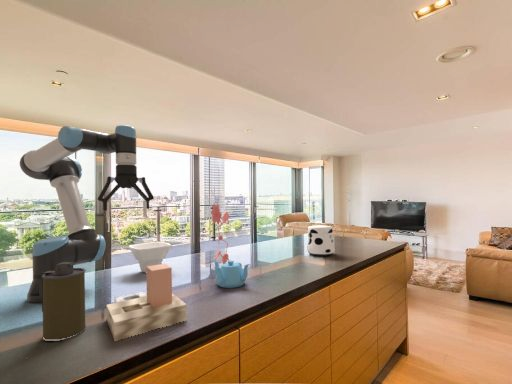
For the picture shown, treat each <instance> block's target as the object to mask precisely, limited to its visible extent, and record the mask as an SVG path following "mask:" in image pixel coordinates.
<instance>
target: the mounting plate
mask: <svg viewBox="0 0 512 384" xmlns="http://www.w3.org/2000/svg"><path fill="white" fill-rule="evenodd" d="M187 311H188V310H187V303H185V302H184V301H183V300H181V299H180V297H178V296H176V294H174V293H173V292H172V303H168V304H164V305H160V306H156V307H152V306H151V305H150V304H149V302H148V301H147V296H145V297H140V298H136V299H131V300H126V301H122V302H117V303H115V302H112V303H109V304H108V303H107V304H106V322H107V325H108V327H109V329H110V333H111V335H112V338H113V341H114V342H117V341H118V342H119V341H122V340H125V339H129V338H132V337H134V336H135V335H136V336H138V334H139V335H142V333H143V334H146V333H149V332H148V331H150V332H152V331H151V330H153V331H155V330H154V329H157V328H160V329H163V328H167V327H170V326H174V325H177V324H180V323H179V322H181V323H184V322H186V321H187V317H188V315H187ZM183 321H184V322H183ZM187 322H188V321H187ZM176 323H177V324H176ZM173 324H174V325H173ZM166 326H167V327H166ZM162 327H163V328H162ZM157 330H158V329H157ZM145 332H146V333H145ZM131 336H132V337H131ZM136 336H135V337H136ZM128 337H129V338H128ZM121 339H122V340H121Z"/></svg>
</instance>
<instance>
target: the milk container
mask: <svg viewBox="0 0 512 384" xmlns="http://www.w3.org/2000/svg"><path fill="white" fill-rule="evenodd" d="M333 229H334V228H333V226H332V225H323V224H322V225H309V226H308V227H307V238H308V241H307V244H306V245H307V246H306V248H307V252H308V254H310V255H312V256H320V257H323V256H324V257H326V256H331V255H334V253H335V249H336V247H335V242H334V230H333Z"/></svg>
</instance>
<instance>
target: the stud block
mask: <svg viewBox="0 0 512 384" xmlns="http://www.w3.org/2000/svg"><path fill="white" fill-rule="evenodd" d="M172 270H173V269H172V267H171V266H170V265H168V264H166V263H162V264H159V265H153V266H147V267H146V272H145V273H146V294H147V301H148V302H149V304H150V305H151V306H152V307H156V306H160V305H164V304H168V303H172V293H173V281H172V280H173V278H172V277H173V273H172Z"/></svg>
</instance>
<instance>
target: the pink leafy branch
mask: <svg viewBox="0 0 512 384" xmlns="http://www.w3.org/2000/svg"><path fill="white" fill-rule="evenodd" d="M210 214H211V216H212V218H211V220H210V221H209V223H211V222H212V221H213V224H217V225H218V226H217V231H218V238H217V239H218V241H217V242H218V244H220V241H223V242H225V243H226V247H228V246H229V243H228V242H227V241H226V240H224V239H223V235H220V229H219V228H220V227H221V226H222V225H224V224H225V225H230V221H229V218H230V214H229V212H228V211H226V212H224V214H223V215H222V212H220V205H219V204H218V203H216V204H215V203H212V209H211V211H210ZM225 249H226V250H225V253H224V254H223V256H222V253H221V252H222V251H221V250H218V252H217V253H216V255H215V257H214V258H213V259H214V260H216V261H217V259H219V258H221V260H222V261H221V262H222V265H223V264H225V263H228V261H231V260H230V259H229V254H228V253H227V252H228V248H225ZM207 267H208V268H210V266H209V265H208V266H207Z"/></svg>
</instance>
